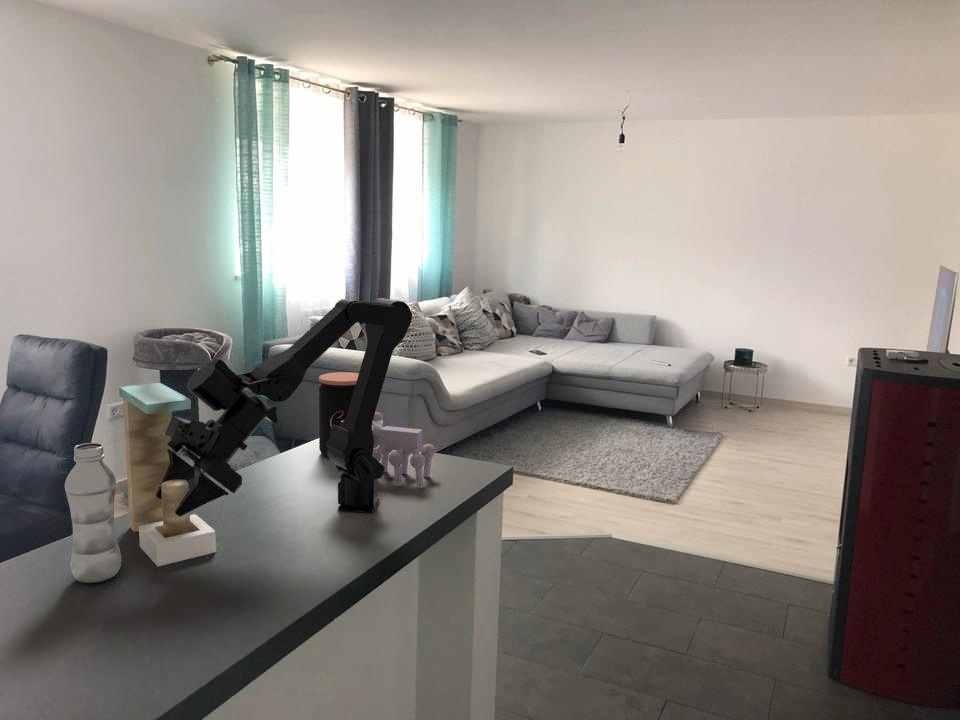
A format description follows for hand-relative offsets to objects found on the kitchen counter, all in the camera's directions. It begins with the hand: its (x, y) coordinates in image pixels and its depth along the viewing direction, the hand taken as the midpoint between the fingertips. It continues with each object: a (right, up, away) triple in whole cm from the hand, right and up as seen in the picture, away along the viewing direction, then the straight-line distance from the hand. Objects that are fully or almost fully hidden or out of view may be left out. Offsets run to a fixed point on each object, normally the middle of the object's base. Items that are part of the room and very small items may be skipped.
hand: (167, 505), depth 122 cm
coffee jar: (+18, +1, +55) cm, 58 cm away
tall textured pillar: (-3, -6, +7) cm, 10 cm away
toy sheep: (+29, -2, +40) cm, 50 cm away
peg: (+1, -7, +2) cm, 8 cm away
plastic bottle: (-7, -9, -8) cm, 14 cm away
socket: (+1, -7, +2) cm, 8 cm away
